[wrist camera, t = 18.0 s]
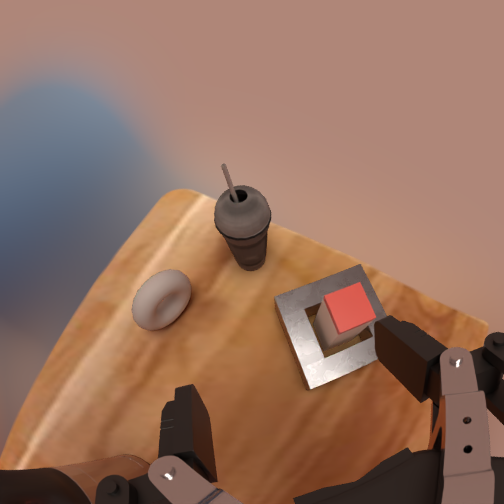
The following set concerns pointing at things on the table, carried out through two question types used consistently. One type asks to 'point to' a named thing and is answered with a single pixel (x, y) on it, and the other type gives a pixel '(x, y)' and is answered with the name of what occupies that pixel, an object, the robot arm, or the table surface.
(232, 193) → the beverage cup
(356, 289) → the plug peg
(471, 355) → the robot arm
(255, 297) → the table surface
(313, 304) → the square socket housing
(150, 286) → the donut
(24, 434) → the table surface
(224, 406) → the table surface
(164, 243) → the table surface
